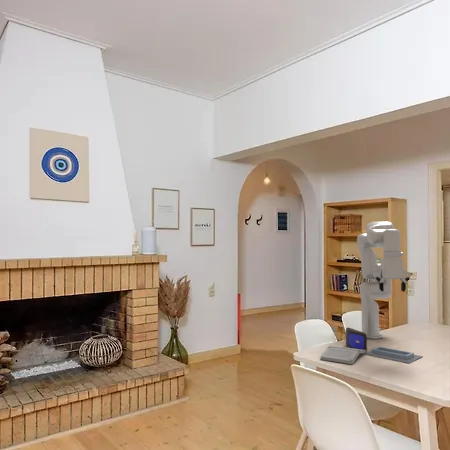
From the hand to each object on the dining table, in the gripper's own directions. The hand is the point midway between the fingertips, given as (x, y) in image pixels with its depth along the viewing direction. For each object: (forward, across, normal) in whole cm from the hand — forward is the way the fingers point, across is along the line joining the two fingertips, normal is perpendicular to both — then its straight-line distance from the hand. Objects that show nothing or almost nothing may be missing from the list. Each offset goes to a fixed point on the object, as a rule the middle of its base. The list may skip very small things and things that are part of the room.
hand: (392, 291), depth 196 cm
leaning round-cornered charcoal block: (+32, +14, -16) cm, 38 cm away
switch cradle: (+31, -1, -4) cm, 31 cm away
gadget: (+31, +23, +1) cm, 39 cm away
